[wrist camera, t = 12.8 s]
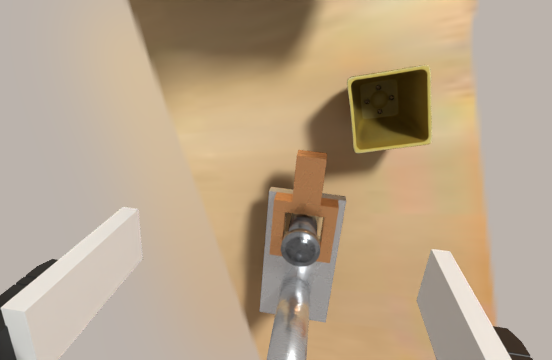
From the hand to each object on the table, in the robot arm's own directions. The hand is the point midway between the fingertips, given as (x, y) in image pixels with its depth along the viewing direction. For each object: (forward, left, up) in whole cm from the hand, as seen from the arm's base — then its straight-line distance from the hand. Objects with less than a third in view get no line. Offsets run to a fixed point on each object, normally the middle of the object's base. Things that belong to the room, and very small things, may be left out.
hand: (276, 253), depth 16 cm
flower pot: (-3, +9, -36) cm, 37 cm away
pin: (+13, +1, -36) cm, 38 cm away
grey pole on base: (+16, +1, -36) cm, 40 cm away
